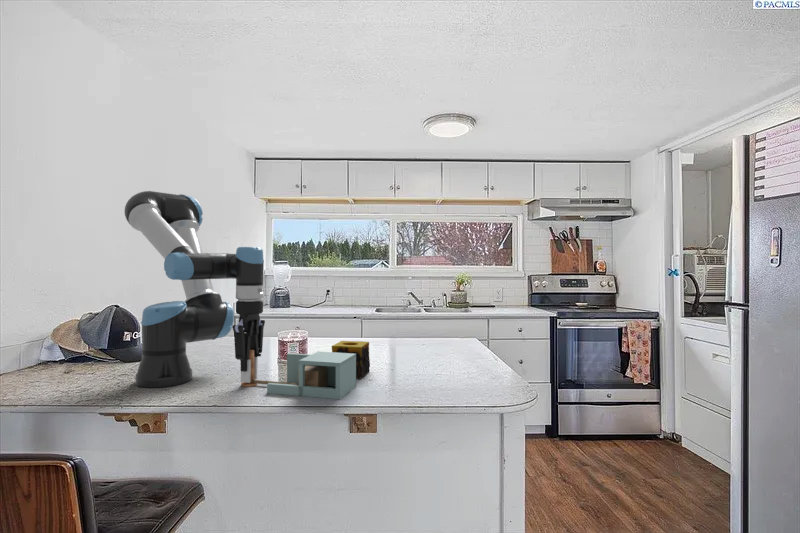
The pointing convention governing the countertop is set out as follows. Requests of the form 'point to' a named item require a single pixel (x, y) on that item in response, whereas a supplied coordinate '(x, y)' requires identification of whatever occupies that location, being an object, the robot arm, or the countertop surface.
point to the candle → (361, 355)
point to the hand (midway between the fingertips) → (249, 380)
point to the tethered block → (312, 376)
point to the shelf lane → (338, 375)
